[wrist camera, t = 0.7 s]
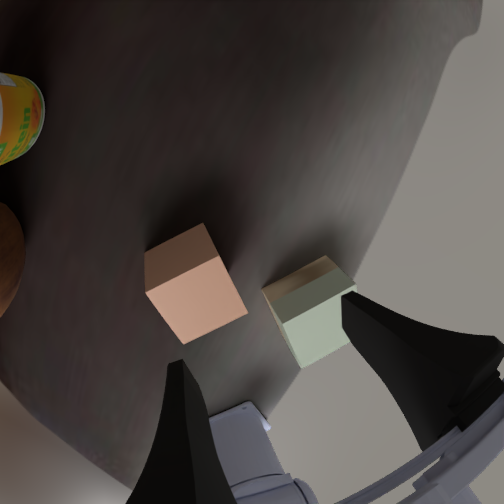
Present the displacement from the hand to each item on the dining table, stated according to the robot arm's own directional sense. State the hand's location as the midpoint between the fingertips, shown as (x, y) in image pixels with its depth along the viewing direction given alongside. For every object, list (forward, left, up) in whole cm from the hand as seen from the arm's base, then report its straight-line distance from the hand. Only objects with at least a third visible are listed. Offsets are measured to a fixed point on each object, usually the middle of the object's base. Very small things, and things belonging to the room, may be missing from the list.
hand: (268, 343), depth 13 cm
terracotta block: (-2, -1, -11) cm, 11 cm away
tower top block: (+5, -8, -8) cm, 13 cm away
